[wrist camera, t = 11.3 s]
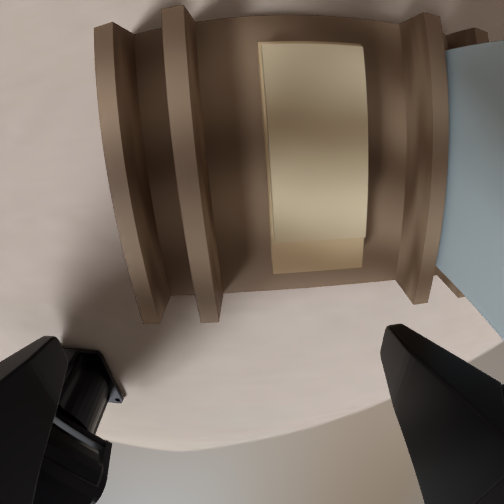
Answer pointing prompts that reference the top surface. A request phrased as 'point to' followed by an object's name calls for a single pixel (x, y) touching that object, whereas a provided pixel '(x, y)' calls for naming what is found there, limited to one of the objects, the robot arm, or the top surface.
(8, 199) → the top surface
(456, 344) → the top surface
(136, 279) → the rack
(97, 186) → the top surface
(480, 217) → the panel
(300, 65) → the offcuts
